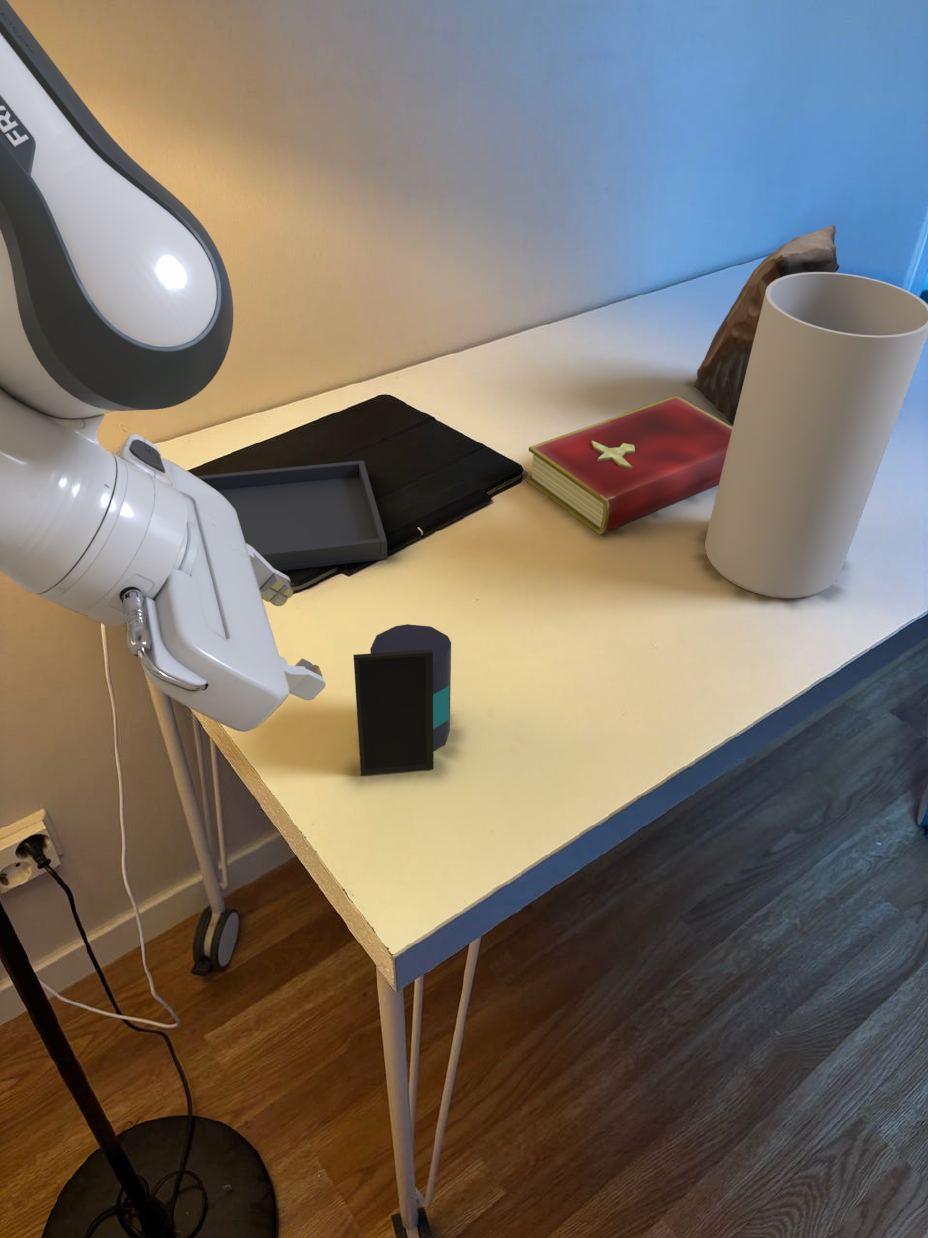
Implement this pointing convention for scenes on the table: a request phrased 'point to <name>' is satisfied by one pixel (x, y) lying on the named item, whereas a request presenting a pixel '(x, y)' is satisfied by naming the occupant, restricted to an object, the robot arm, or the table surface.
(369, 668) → the speaker
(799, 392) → the cylinder vase
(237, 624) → the robot arm
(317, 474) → the shallow rimmed tray
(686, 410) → the hardcover book
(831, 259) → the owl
